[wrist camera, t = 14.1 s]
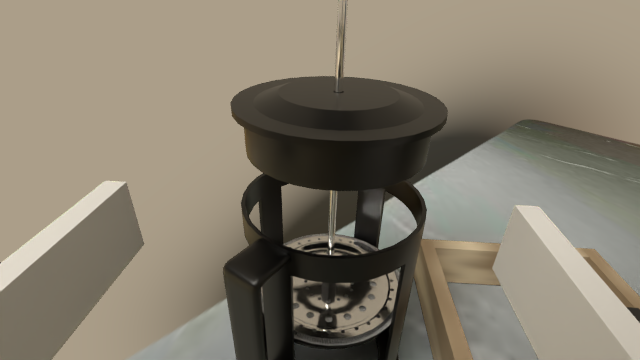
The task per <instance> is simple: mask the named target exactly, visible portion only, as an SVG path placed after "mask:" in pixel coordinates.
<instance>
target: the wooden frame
mask: <svg viewBox="0 0 640 360" xmlns="http://www.w3.org/2000/svg"><path fill="white" fill-rule="evenodd" d="M500 245H501V244H498V243H480V242H463V241H446V240H429V239H421V244H420V249H419V253H418V258H417V263H416V268H415V272H414V279H415V283H416V287H417V291H418V296H419V300H420V304H421V308H422V313H423V317H424V321H425V325H426V329H427V334H428V338H429V342H430V346H431V351H432V355H433V359H434V360H473V358H472V355H471V352H470V349H469V346H468V343H467V340H466V337H465V334H464V332H463V329H462V326H461V323H460V320H459V317H458V314H457V311H456V308H455V305H454V302H453V299H452V297H451V294H450V291H449V288H448V285H447V282H454V283H470V284H486V285H501V284H500V282H499V281H498V279H497V277H496V275H495V273H494V271H493V269H492V267H493V265H494V262H495V259H496V256H497V253H498V251H499V248H500ZM575 249H576V250H577V251H578V252H579V253H580V255H581V256H582V257H583V258H584V259H585V260H586V261H587V263H588V264H589V265H590V266H591V267H592V268H593V270H594V271H595V272H596V273H597V274H598V275H599V276H600V278H601V279H602V280H603V281H604V282H605V283H606V285H607V286H608V287H609V288H610V289H611V290H612V291H613V293H614V294H615V295H616V296H617V297H618V298H619V300H620V301H621V302H622V303H623V304H624V305H625V306H626V307H632V308H639V309H640V297H639V296H638V295H637V293H636V292H635V291H634V290H633V289H632V288H631V287H630V286H629V285H628V284H627V283H626V282H625V281H624V280H623V279H622V278H621V277H620V276H619V275H618V273H617V272H616V271H615V270H614V269H613V268H612V267H611V266H610V265H609V264H608V263H607V262H606V261H605V260H604V259H603V258H602V257H601V256H600V255H599V253H598V252H597V251H596V250H595V249H584V248H575Z"/></svg>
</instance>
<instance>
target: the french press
mask: <svg viewBox="0 0 640 360" xmlns="http://www.w3.org/2000/svg"><path fill="white" fill-rule="evenodd" d="M347 6H348V0H338V19H337V42H336V65H335V77H334V76H330V77H329V76H320V77H319V76H318V77H299V78H288V79H282V80H275V81H270V82H266V83H262V84H258V85H255V86H252V87H250V88H247V89H245V90H243V91H241V92H239V93H238V94H237V95H236V96H234V98H233V99H232V101H231V111H232V117H233V118H234V119H235V120H236V122H237V123H238V124H240V125H241V126H243V127H244V133H245V144H246V152H247V157H248V159H249V160H250V162H251V163H252V164H253V165H254V166H255V167H256V168H257V169H259V170H260V171H261V172H263V174H261V175H260V176H258V177H257V178H256V179H255V180H254V181H252V182H251V183H250V184H249V186H248V187H247V189H246V191H245V192H244V194H243V198H242V202H241V206H242V216H243V226H244V233H245V238H246V240H247V241H248V244H249V246H248V247H247V248H245V249H244V250H243V251H241V252H240V253H238V254H237V255H236V256H234V257H233V258H232V259H230V260H229V261H228V262H227V263H226V264H225V266H224V268H223V275H224V282H225V289H226V295H227V302H228V308H229V314H230V321H231V327H232V334H233V340H234V347H235V353H236V360H295V354H294V342H295V343H298V344H300V345H304V346H308V347H312V348H319V349H345V348H350V347H354V346H358V345H361V344H364V343H366V342H368V341H371V340H373V339H376V342H377V346H378V360H399V359H398V348H399V344H400V339H401V334H402V329H403V325H404V320H405V315H406V310H407V306H408V301H409V296H410V291H411V287H412V282H413V277H414V272H415V268H416V263H417V258H418V253H419V249H420V244H421V239H422V234H423V229H424V225H425V220H426V211H427V209H426V205H425V201H424V199H423V197H422V196H421V194H420V192H419V191H418V190H417V189H416V188H415V187H414V186H413V185H412V184H411V183H410V182H409V181H407V179H409V178H411V177H413V176H414V175H415V174H417V173H418V172H420V171H421V170H422V168H423V167H424V165H425V164H426V159H427V155H428V149H429V144H430V138H431V136H432V135H433V134H435V133H436V132H438V131H440V130H441V129H442V128H443V126H444V125H445V124H446V120H447V112H448V111H447V108H446V107H445V105H444V103H442V102H441V101H440V100H438V99H437V98H436V97H434V96H432V95H430V94H428V93H426V92H423V91H420V90H418V89H415V88H411V87H408V86H404V85H401V84H396V83H391V82H386V81H380V80H373V79H365V78H354V77H344V61H345V60H344V59H345V42H346V24H347ZM289 183H290V184H293V185H297V186H302V187H307V188H312V189H320V190H330V206H329V230H328V234H315V235H308V236H303V237H300V238H296V239H293V240H291V241H289V242H287V243H285V244H283V224H282V198H281V186H284V185H287V184H289ZM337 191H358V200H357V211H356V212H357V213H356V223H355V234H354V237H349V236H345V235H338V234H335V225H336V207H337V205H336V204H337ZM386 191H387V192H388V193H390V194H392V195H394V196H395V197H396V198H398V199H399V200H400V201H402V202H403V203H404V204H405V205H406V206H407V207H408V209H409V210H410V211H411V212H412V214H413V216H414V218H415V220H416V222H417V228H416V229H415V230H414V231H413V232H412V233H411V234H410V235H409V236H408V237H407V238H406V239H404V240H402V241H400V242H398V243H397V244H395V245H393V246H391V247H388V248H385V249H382V250H379V249H378V244H379V236H380V229H381V221H382V214H383V206H384V199H385V192H386ZM258 201H259V212H260V224H261V232H260V231H259V230H258V229H257V228H256V227H255V226H254V225H253V224H252V222H251V220H250V218H249V214H250V212H251V211H252V209H253V207H254V206H255V204H256V203H257V202H258ZM400 267H401V270H400V273H399V271H398V268H400Z"/></svg>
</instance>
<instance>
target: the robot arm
mask: <svg viewBox="0 0 640 360" xmlns="http://www.w3.org/2000/svg"><path fill="white" fill-rule="evenodd" d="M143 245H144V242H143V238H142V235H141V231H140V228H139V224H138V221H137V218H136V214H135V211H134V207H133V204H132V200H131V197H130V193H129V190H128V186H127V183H126V182H117V181H104V182H103V183H102V184H100V185H99V186H98V187H97V188H95V189H94V190H93V191H92V192H90V193H89V194H88V195H87V196H85V197H84V198H83V199H81V200H80V201H79V202H78V203H76V204H75V205H74V206H73V207H71V208H70V209H69V210H67V211H66V212H65V213H64V214H62V215H61V216H60V217H59V218H57V219H56V220H55V221H53V222H52V223H51V224H50V225H48V226H47V227H46V228H45V229H43V230H42V231H41V232H40V233H38V234H37V235H36V236H34V237H33V238H32V239H31V240H29V241H28V242H27V243H26V244H24V245H23V246H22V247H20V248H19V249H18V250H17V251H15V252H14V253H13V254H12V255H10V256H9V257H8V258H7V259H5V260H4V261H3V262H0V360H52V359H53V357H54V356H55V355H56V353H57V352H58V351H59V350H60V349H61V347H62V346H63V345H64V344H65V342H66V341H67V340H68V338H69V337H70V336H71V335H72V334H73V332H74V331H75V330H76V329H77V327H78V326H79V325H80V323H81V322H82V321H83V320H84V319H85V317H86V316H87V315H88V314H89V312H90V311H91V310H92V309H93V307H94V306H95V305H96V304H97V302H98V301H99V300H100V299H101V297H102V296H103V295H104V294H105V292H106V291H107V290H108V288H109V287H110V286H111V285H112V283H113V282H114V281H115V280H116V279H117V277H118V276H119V275H120V274H121V272H122V271H123V270H124V269H125V267H126V266H127V265H128V264H129V262H130V261H131V260H132V259H133V257H134V256H135V255H136V254H137V252H138V251H139V250H140V249H141V247H142V246H143ZM492 269H493V271H494V273H495V275H496V277H497V279H498V281H499V282H500V284H501V286H502V288H503V290H504V292H505V294H506V296H507V298H508V300H509V302H510V304H511V306H512V308H513V310H514V312H515V314H516V316H517V318H518V320H519V322H520V324H521V326H522V328H523V330H524V332H525V334H526V336H527V338H528V339H529V341H530V343H531V345H532V347H533V349H534V351H535V353H536V355H537V357H538V359H539V360H640V309H639V308H632V307H626V306H625V305H624V304H623V303H622V302H621V301H620V300H619V298H618V297H617V296H616V295H615V294H614V293H613V291H612V290H611V289H610V288H609V287H608V286H607V285H606V283H605V282H604V281H603V280H602V279H601V278H600V276H599V275H598V274H597V273H596V272H595V271H594V270H593V268H592V267H591V266H590V265H589V264H588V263H587V261H586V260H585V259H584V258H583V257H582V256H581V255H580V253H579V252H578V251H577V250H576V249H575V248H574V246H573V245H572V244H571V243H570V242H569V241H568V240H567V238H566V237H565V236H564V235H563V234H562V233H561V231H560V230H559V229H558V228H557V227H556V226H555V224H554V223H553V222H552V221H551V220H550V219H549V218H548V216H547V215H546V214H545V213H544V212H543V211H542V209H541V208H540V207H539V206H522V205H515V206H514V209H513V211H512V214H511V217H510V220H509V223H508V225H507V228H506V231H505V234H504V237H503V239H502V242H501V245H500V248H499V251H498V253H497V256H496V259H495V262H494V265H493V267H492Z"/></svg>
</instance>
